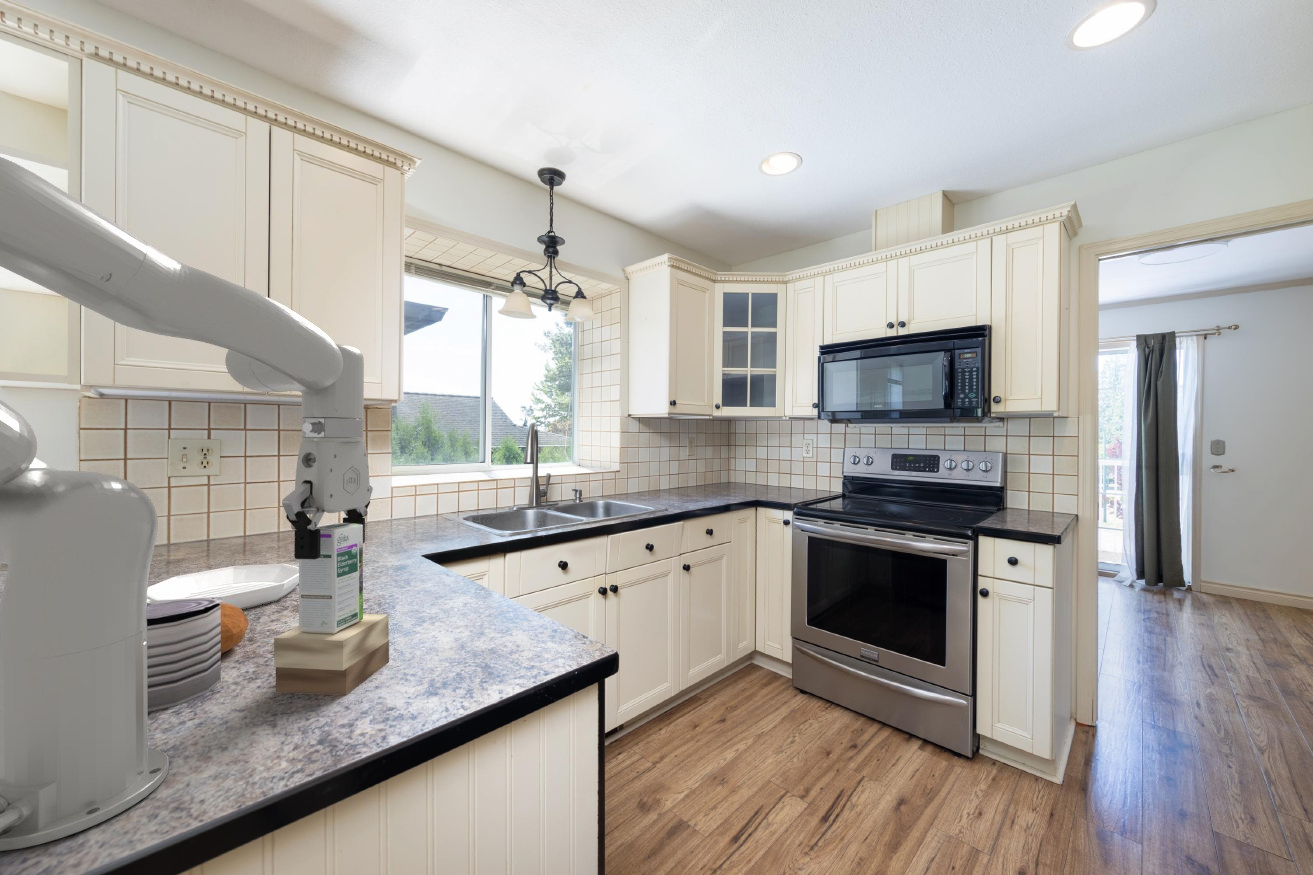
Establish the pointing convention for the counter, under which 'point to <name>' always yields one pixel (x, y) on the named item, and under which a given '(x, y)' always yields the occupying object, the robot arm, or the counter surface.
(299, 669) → the tower base block
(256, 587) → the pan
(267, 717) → the counter surface
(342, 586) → the syrup box
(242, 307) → the robot arm
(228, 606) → the potato
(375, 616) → the tower top block
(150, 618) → the can
